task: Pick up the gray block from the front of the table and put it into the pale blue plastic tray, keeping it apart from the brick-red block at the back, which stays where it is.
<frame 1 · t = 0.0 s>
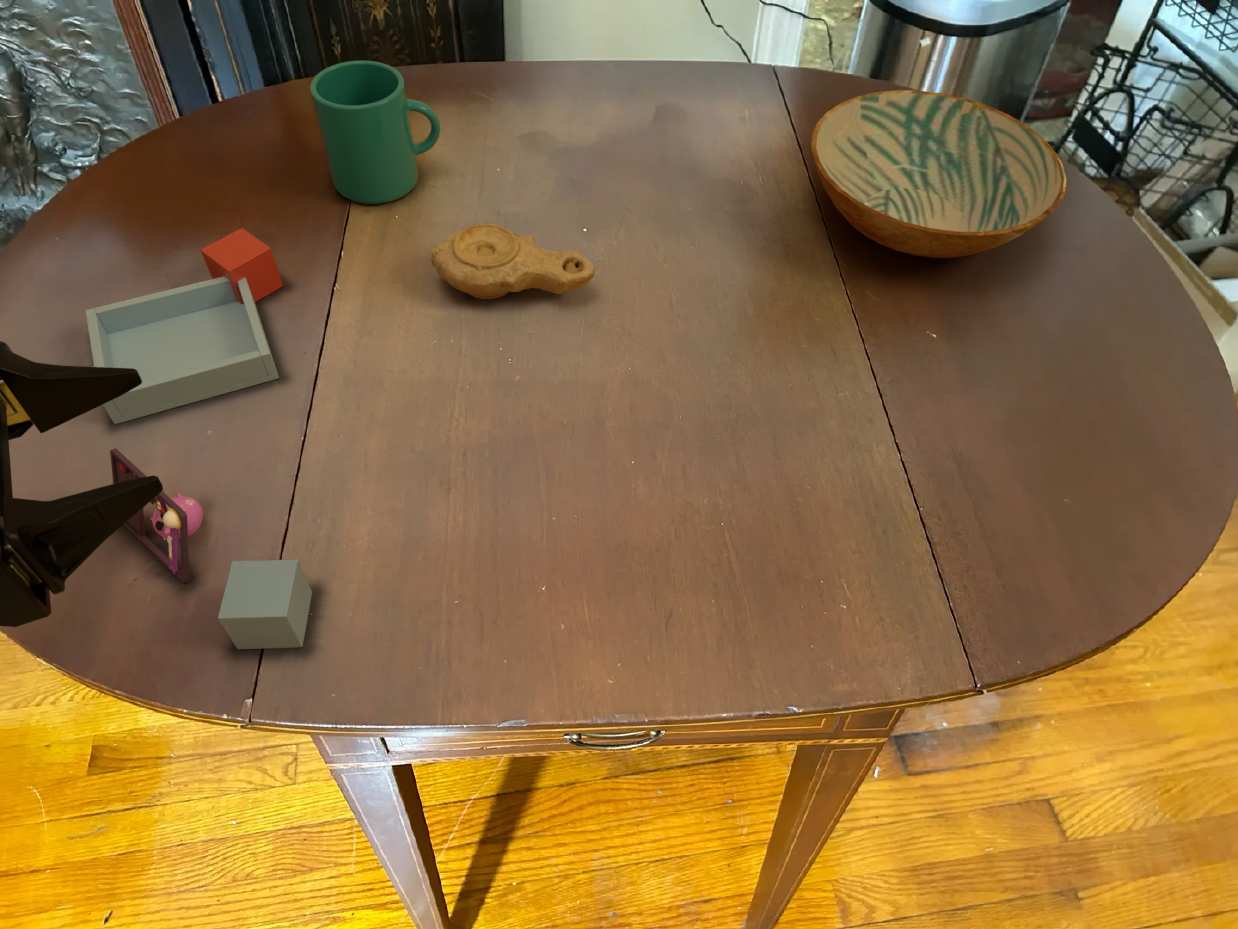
hand: (149, 426, 55), 16 cm above the table, tool horizontal, fingers open, 9 cm apart
cup: (391, 181, 98), on the table
bowl: (913, 223, 97), on the table
red block: (249, 286, 87), on the table, touching blue tray
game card: (178, 533, 70), on the table
gray block: (275, 620, 65), on the table
blue tray: (188, 356, 81), on the table
oil lamp: (512, 286, 89), on the table
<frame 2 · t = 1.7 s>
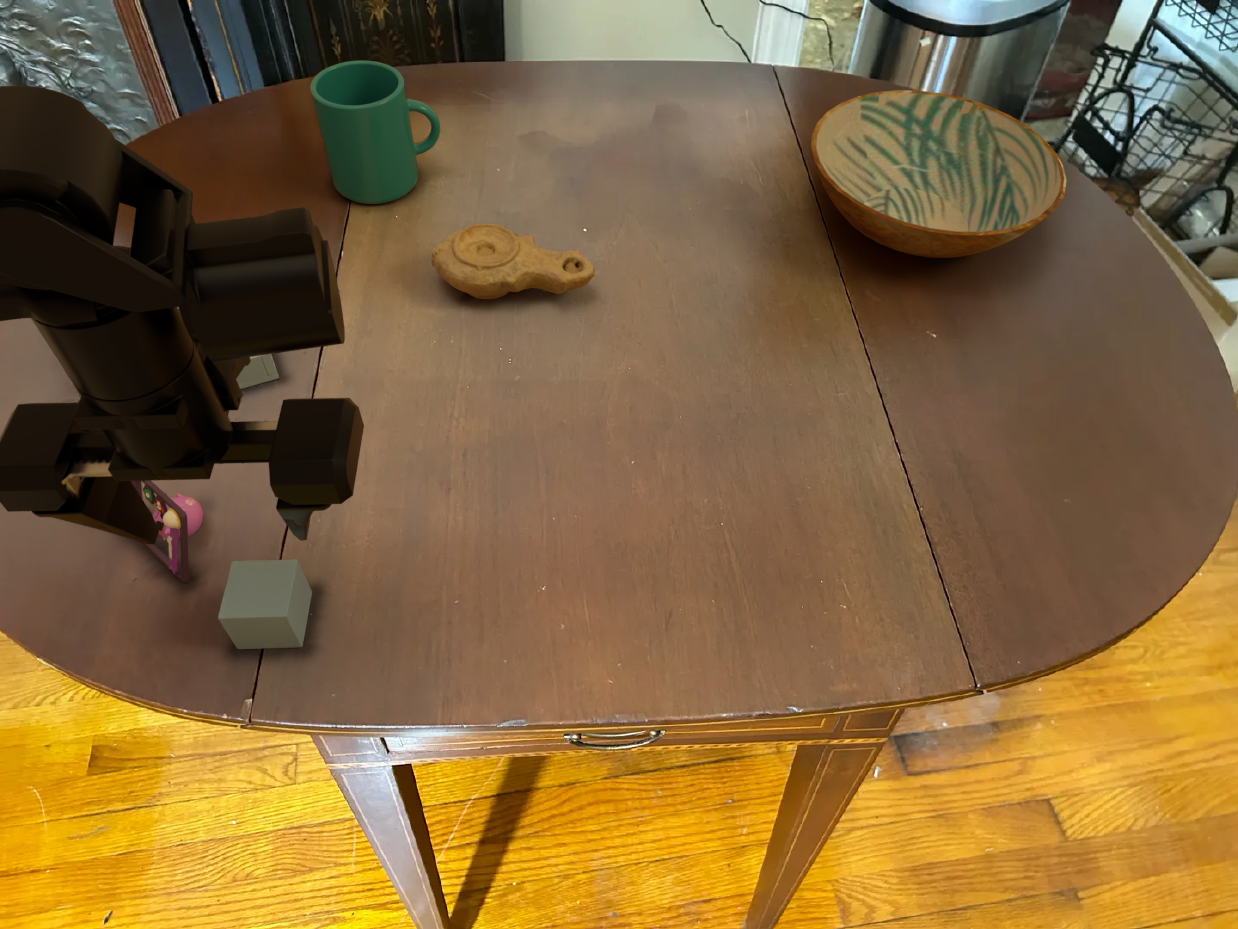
hand: (230, 536, 57), 11 cm above the table, tool pointing down, fingers open, 9 cm apart
nothing on the table moved.
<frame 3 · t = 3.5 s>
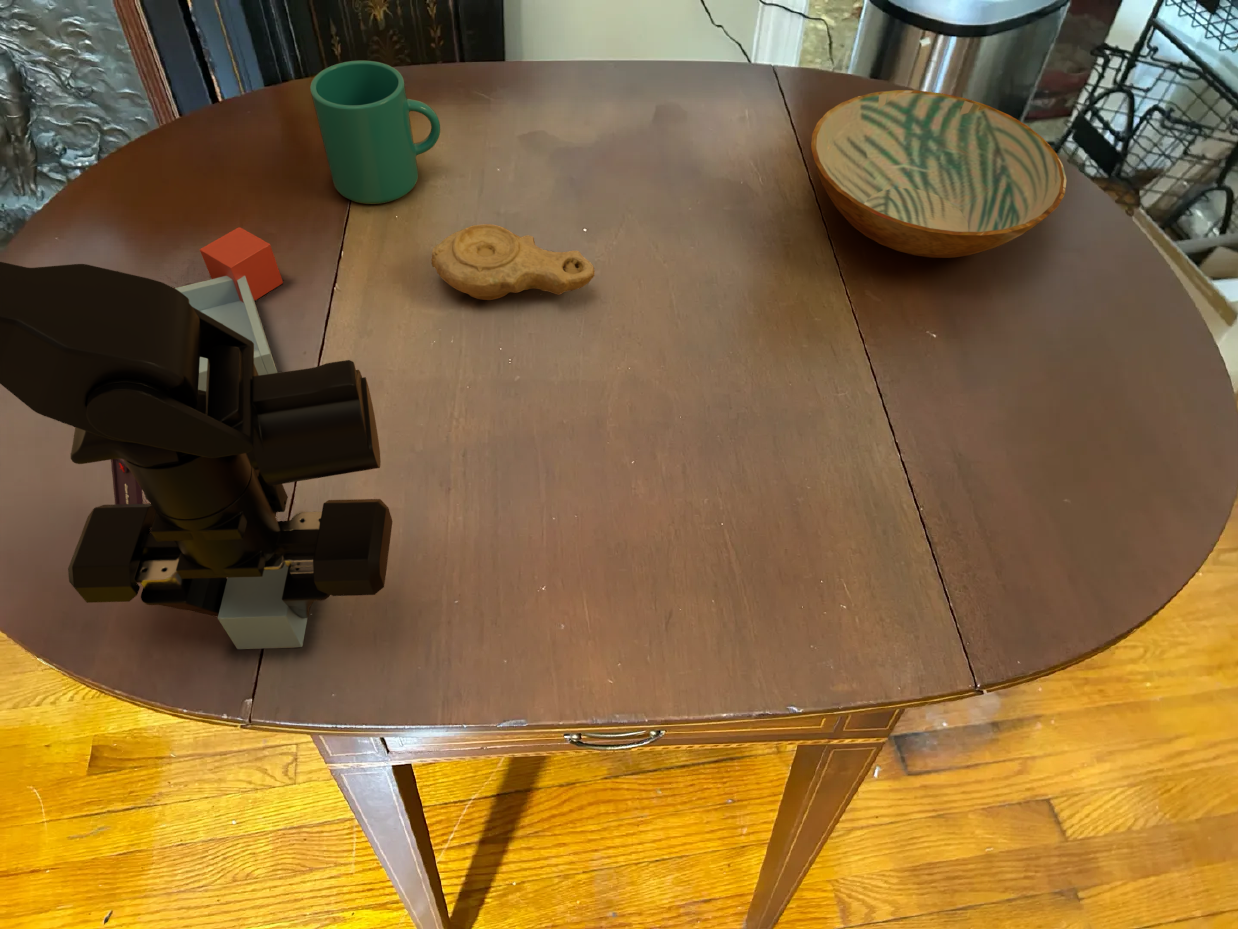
hand: (272, 613, 64), 1 cm above the table, tool pointing down, fingers closed on gray block, 4 cm apart
gray block: (275, 620, 65), on the table, touching gripper
everything else where it was.
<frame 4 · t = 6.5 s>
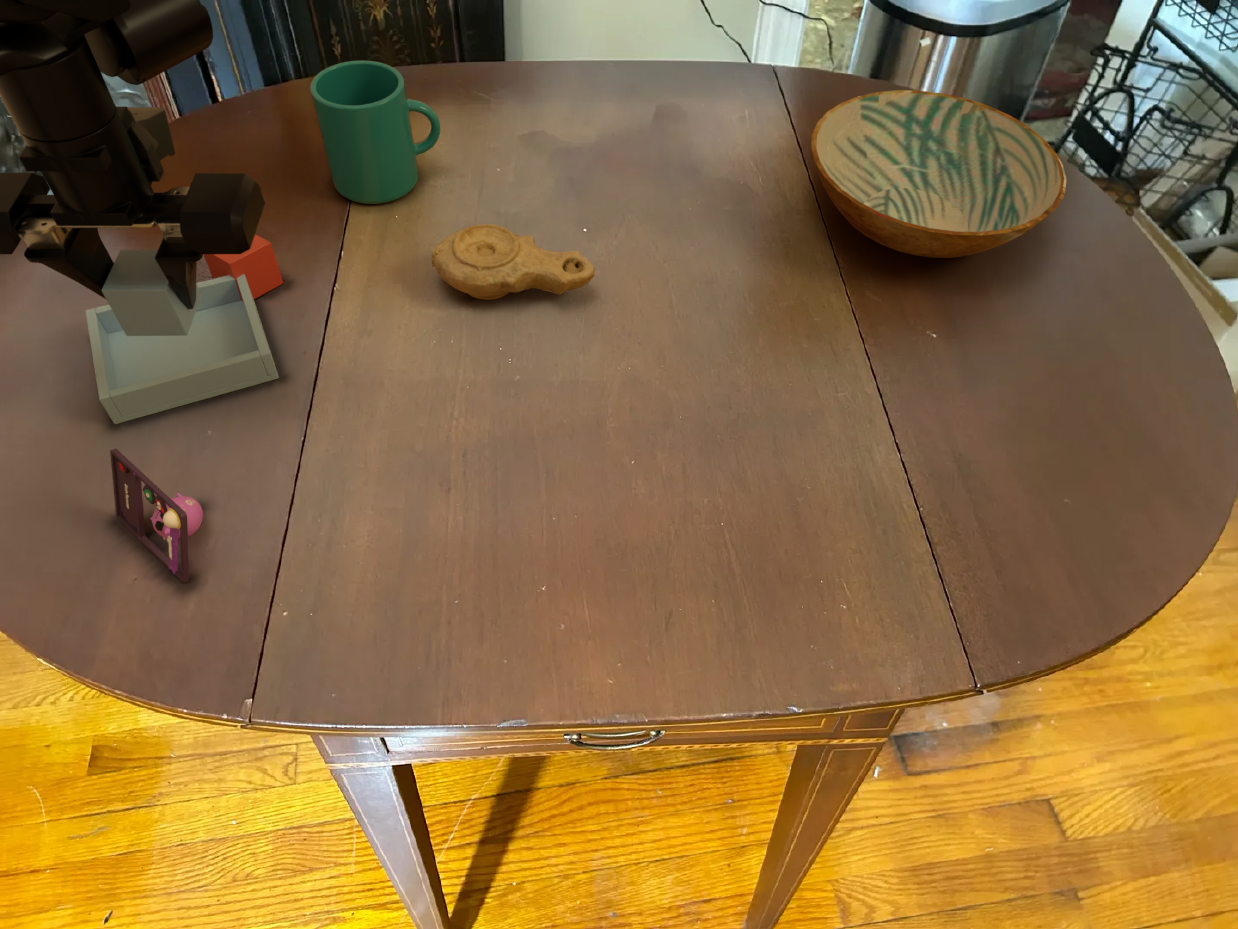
hand: (160, 305, 69), 11 cm above the table, tool pointing down, fingers closed on gray block, 4 cm apart
gray block: (164, 315, 70), point 10 cm above the table, touching gripper
everything else where it was.
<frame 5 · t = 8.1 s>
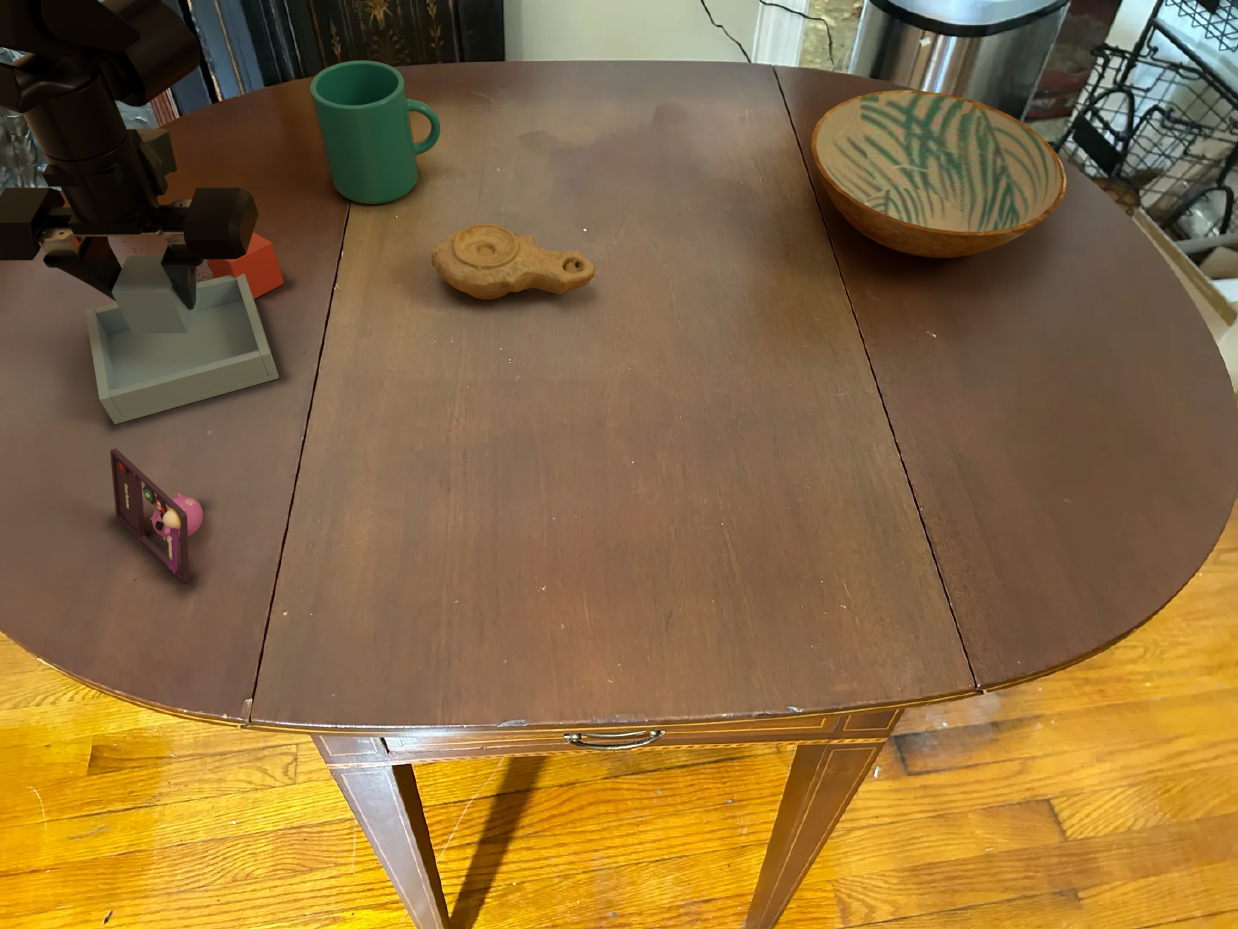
hand: (163, 306, 76), 6 cm above the table, tool pointing down, fingers closed on gray block, 4 cm apart
gray block: (167, 315, 77), point 5 cm above the table, touching gripper
everything else where it was.
when the fingers open (2 cm above the table, at t = 9.6 s): gray block stays where it is, resting on blue tray.
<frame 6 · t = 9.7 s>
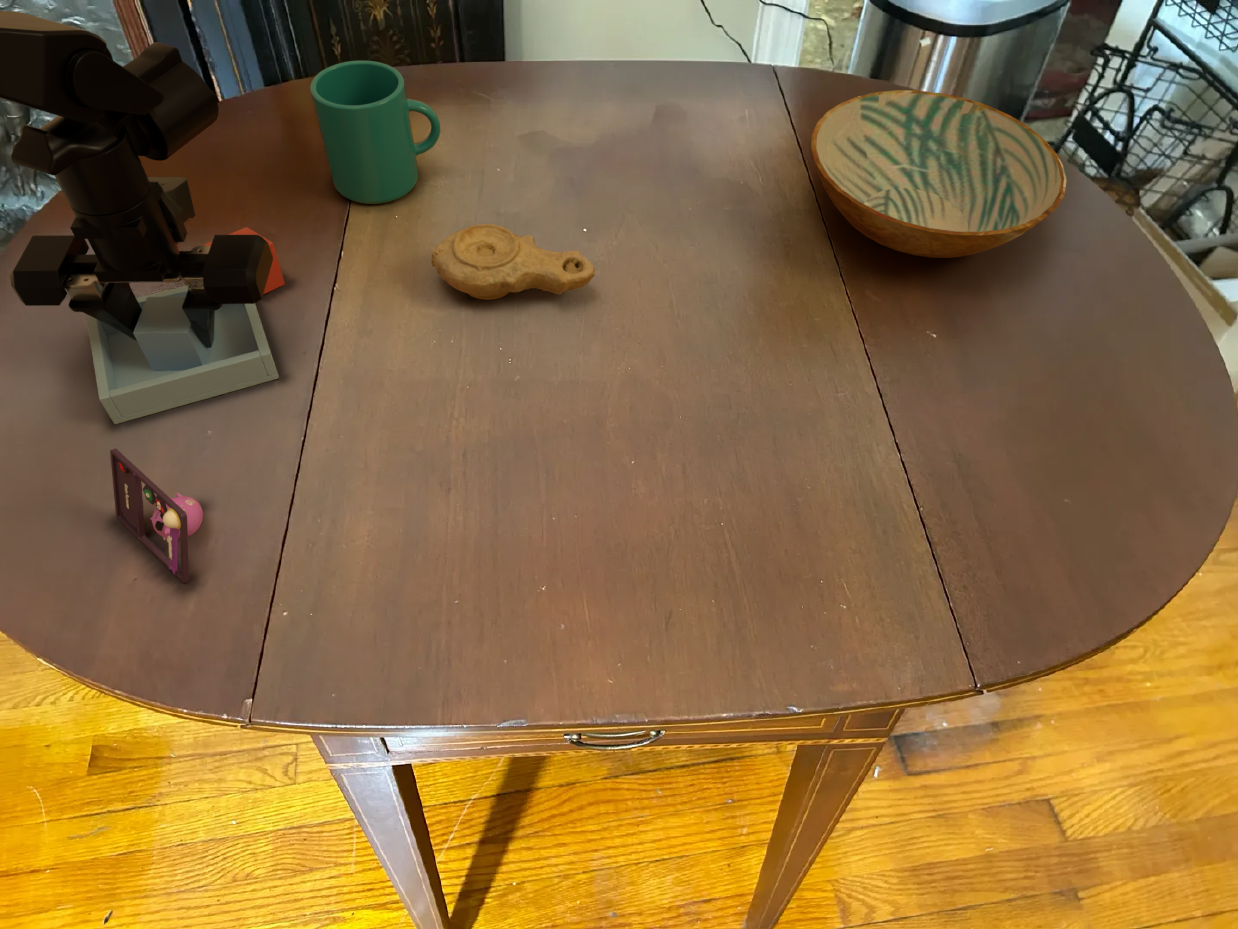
hand: (181, 344, 80), 2 cm above the table, tool pointing down, fingers open, 5 cm apart
gray block: (185, 352, 80), point 1 cm above the table, touching blue tray
everything else where it was.
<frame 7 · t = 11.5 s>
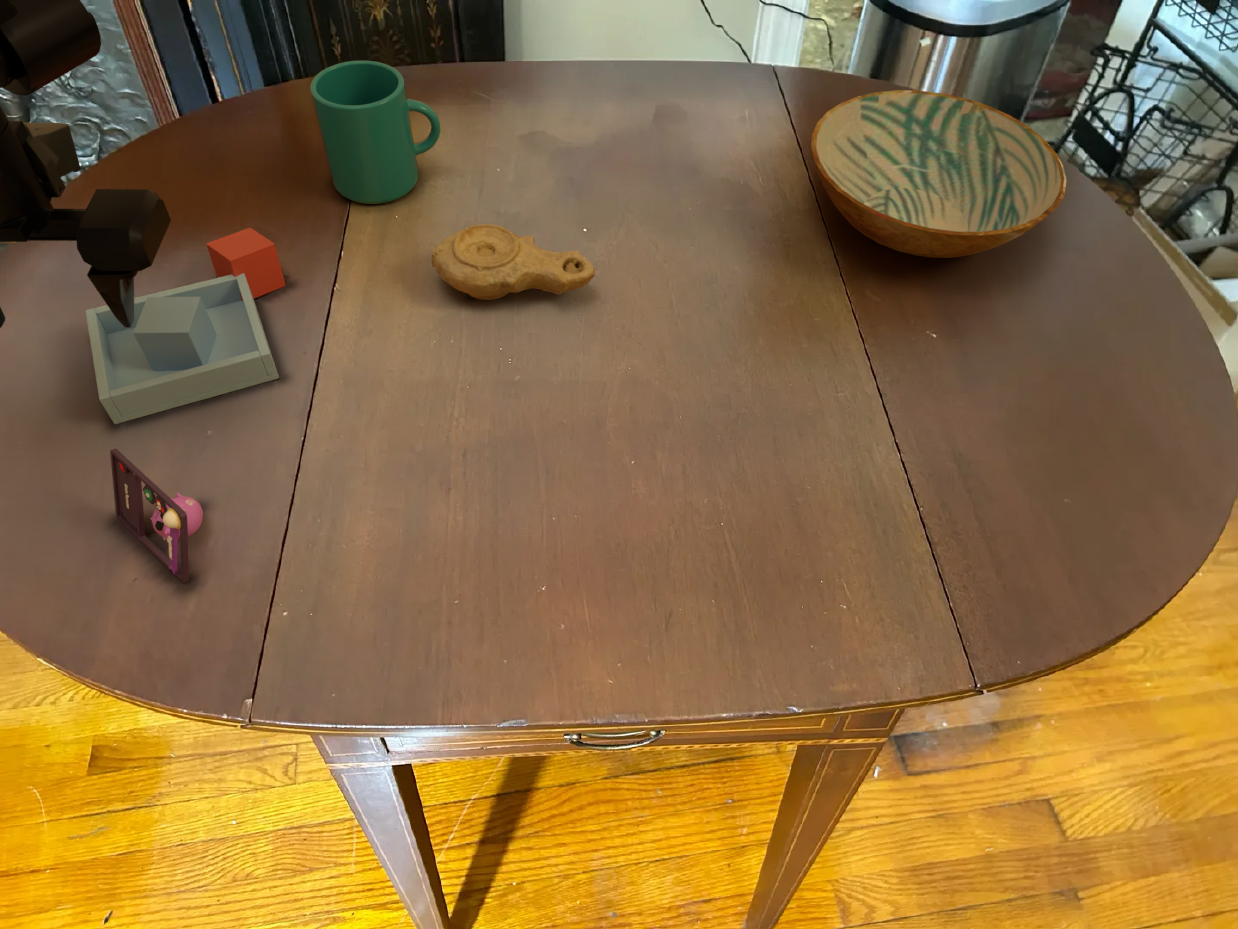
hand: (65, 323, 67), 11 cm above the table, tool pointing down, fingers open, 9 cm apart
nothing on the table moved.
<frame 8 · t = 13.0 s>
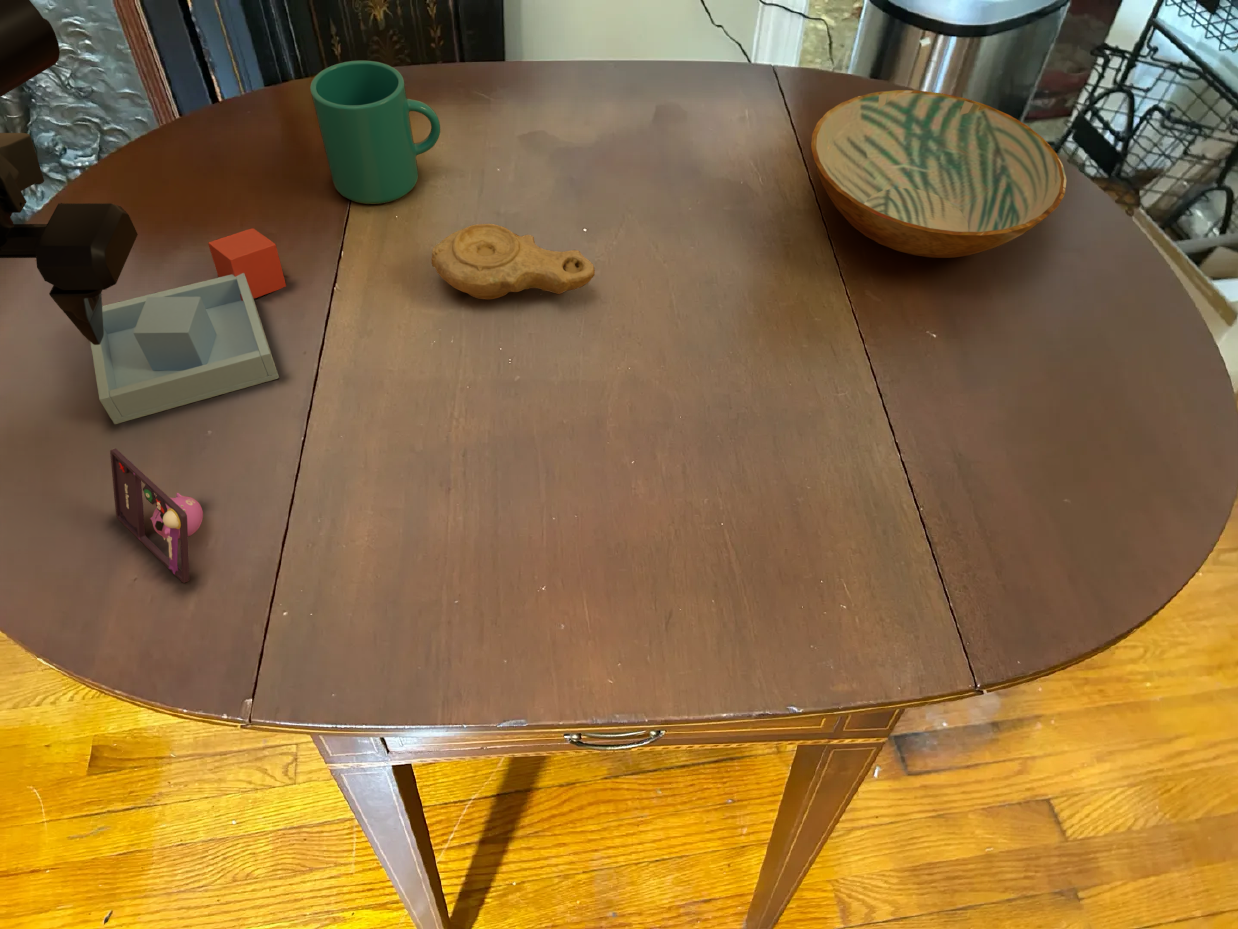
hand: (32, 341, 65), 12 cm above the table, tool pointing down, fingers open, 9 cm apart
nothing on the table moved.
at the end: gray block inside the target area in the blue tray (0.0 cm from its centre), point 0.6 cm above the blue tray's base; red block moved 0.7 cm from its start; gray block tilted 0° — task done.
